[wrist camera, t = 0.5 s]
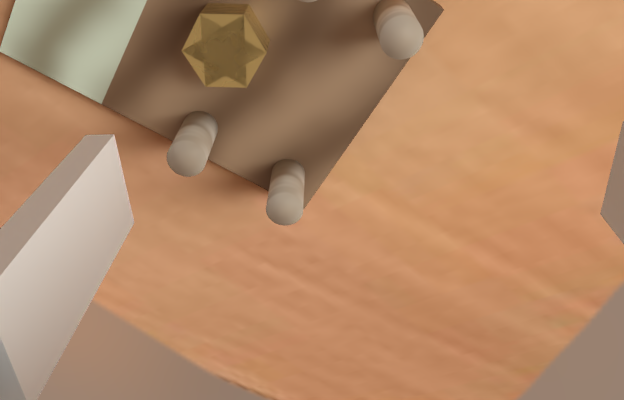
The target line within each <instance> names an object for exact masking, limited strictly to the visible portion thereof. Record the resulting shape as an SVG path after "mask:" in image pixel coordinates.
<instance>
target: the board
mask: <svg viewBox="0 0 624 400" xmlns="http://www.w3.org/2000/svg"><path fill="white" fill-rule="evenodd" d="M208 3H227V4H249V5H250V7H251V8H252V10H253V12H254V13H255V15H256V17H257V19H258V20H259V22H260V24H261V25H262V27H263V29H264V30H265V32H266V34H267V36H268V37H269V39H270V42H269V46H268V50H267V53H266V55H265V57H264V58H263V60H262V62H261V64H260V65H259V67H258V69H257V71H256V72H255V74H254V76H253V78H252V79H251V81H250V83H249V85H248V86H247V88H238V87H205V85H204V84H203V82H202V81H201V79H200V78H199V76H198V75H197V73H196V72H195V70H194V69H193V67H192V66H191V64H190V63H189V61H188V60H187V58H186V57H185V55H184V54H183V52H182V49H183V47H184V45H185V43H186V41H187V39H188V37H189V35H190V33H191V31H192V29H193V27H194V24H195V22H196V20H197V18H198V16H199V14H200V13H201V11H202V10H203V9H204V8H205V6H206V5H207V4H208ZM443 10H444V9H443V8H442V7H441V6H440V5H439V4H437V3H436V2H434V1H433V0H15V3H14V7H13V10H12V13H11V16H10V19H9V22H8V25H7V28H6V31H5V34H4V37H3V40H2V43H1V46H0V52H2V53H4V54H5V55H7V56H9V57H11V58H13V59H15V60H17V61H19V62H21V63H23V64H25V65H27V66H29V67H31V68H32V69H34V70H36V71H38V72H40V73H42V74H44V75H46V76H48V77H50V78H52V79H54V80H56V81H58V82H59V83H61V84H63V85H65V86H67V87H69V88H71V89H73V90H75V91H77V92H79V93H81V94H83V95H85V96H87V97H88V98H90V99H92V100H94V101H96V102H98V103H100V104H102V105H104V106H106V107H108V108H110V109H112V110H114V111H115V112H117V113H119V114H121V115H123V116H125V117H127V118H129V119H131V120H133V121H135V122H137V123H139V124H141V125H143V126H144V127H146V128H148V129H150V130H152V131H154V132H156V133H158V134H160V135H162V136H164V137H166V138H168V139H170V140H171V141H173V142H172V144H171V146H170V148H169V150H168V152H167V162H168V165H169V166H170V168H171V169H172V170H173V171H174V172H175V173H177V174H179V175H182V176H187V177H191V176H195V175H197V174H199V173H200V172H201V171H202V170H203V169H204V167H205V164H206V162H207V159H208V160H210V161H212V162H214V163H216V164H218V165H220V166H222V167H224V168H226V169H227V170H229V171H231V172H233V173H235V174H237V175H239V176H241V177H243V178H245V179H247V180H249V181H251V182H253V183H254V184H256V185H258V186H260V187H262V188H264V189H266V190H268V191H269V193H268V199H267V206H266V212H267V215H268V217H269V218H270V219H271V220H272V221H273V222H274V223H276V224H279V225H291V224H294V223H296V222H297V221H298V220H299V219H300V218H301V216H302V214H303V209H304V208H305V207H306V205H307V204H308V203H309V201H310V200H311V198H312V197H313V195H314V194H315V193H316V191H317V190H318V188H319V187H320V186H321V184H322V183H323V181H324V180H325V178H326V177H327V176H328V174H329V173H330V171H331V170H332V168H333V167H334V166H335V164H336V163H337V161H338V160H339V158H340V157H341V156H342V154H343V153H344V151H345V150H346V148H347V147H348V146H349V144H350V143H351V141H352V140H353V139H354V137H355V136H356V134H357V133H358V131H359V130H360V129H361V127H362V126H363V124H364V123H365V121H366V120H367V119H368V117H369V116H370V114H371V113H372V111H373V110H374V109H375V107H376V106H377V104H378V103H379V101H380V100H381V99H382V97H383V96H384V94H385V93H386V92H387V90H388V89H389V87H390V86H391V84H392V83H393V82H394V80H395V79H396V77H397V76H398V74H399V73H400V72H401V70H402V69H403V67H404V66H405V64H406V63H407V62H408V60H409V59H410V57H412V56H413V55H415V54H416V53H417V52H418V51H419V49H420V48H421V46H422V43H423V39H424V37H425V36H426V35H427V33H428V32H429V30H430V29H431V27H432V26H433V25H434V23H435V22H436V20H437V19H438V17H439V16H440V15H441V13H442V12H443Z"/></svg>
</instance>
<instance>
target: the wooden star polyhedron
mask: <svg viewBox="0 0 624 400" xmlns="http://www.w3.org/2000/svg"><path fill="white" fill-rule="evenodd" d="M269 42H270V39H269V37H268V36H267V34H266V32H265V30H264V29H263V27H262V25H261V24H260V22H259V20H258V19H257V17H256V15H255V13H254V12H253V10H252V8H251V7H250V5H249V4H227V3H208V4H207V5H206V6H205V8H204V9H203V10H202V11H201V13H200V14H199V16H198V18H197V20H196V22H195V24H194V27H193V29H192V31H191V33H190V35H189V37H188V39H187V41H186V43H185V45H184V47H183V49H182V52H183V54H184V55H185V57H186V58H187V60H188V61H189V63H190V64H191V66H192V67H193V69H194V70H195V72H196V73H197V75H198V76H199V78H200V79H201V81H202V82H203V84H204V85H205V87H238V88H247V86H248V85H249V83H250V81H251V79H252V78H253V76H254V74H255V72H256V71H257V69H258V67H259V65H260V64H261V62H262V60H263V58H264V57H265V55H266V53H267V50H268V46H269Z"/></svg>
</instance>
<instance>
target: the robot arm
mask: <svg viewBox="0 0 624 400" xmlns="http://www.w3.org/2000/svg"><path fill="white" fill-rule="evenodd" d="M600 214H601V215H602V217H603V218H604V219H605V221H606V222H607V223H608V224H609V226H610V227H611V228H612V230H613V231H614V232H615V234H616V235H617V236H618V237H619V239H620V240H621V241H622V243H623V244H624V121H623V123H622V127H621V132H620V136H619V140H618V144H617V148H616V152H615V156H614V160H613V164H612V168H611V172H610V176H609V181H608V185H607V189H606V193H605V197H604V201H603V205H602V209H601V213H600ZM133 224H134V219H133V215H132V210H131V206H130V201H129V197H128V193H127V188H126V184H125V179H124V175H123V171H122V166H121V162H120V157H119V153H118V149H117V144H116V140H115V136H114V134H104V135H85V136H84V137H83V139H82V140H81V141H80V142H79V143H78V144H77V145H76V146H75V147H74V148H73V150H72V151H71V152H70V153H69V154H68V155H67V156H66V157H65V158H64V159H63V161H62V162H61V163H60V164H59V165H58V166H57V167H56V168H55V169H54V170H53V172H52V173H51V174H50V175H49V176H48V177H47V178H46V179H45V180H44V181H43V183H42V184H41V185H40V186H39V187H38V188H37V189H36V190H35V191H34V192H33V194H32V195H31V196H30V197H29V198H28V199H27V200H26V201H25V202H24V203H23V205H22V206H21V207H20V208H19V209H18V210H17V211H16V212H15V213H14V214H13V216H12V217H11V218H10V219H9V220H8V221H7V222H6V223H5V224H4V225H3V227H2V228H0V400H37V399H38V397H39V395H40V393H41V392H42V390H43V388H44V386H45V384H46V383H47V381H48V379H49V377H50V375H51V373H52V372H53V370H54V368H55V366H56V364H57V363H58V361H59V359H60V357H61V355H62V353H63V352H64V350H65V348H66V346H67V344H68V342H69V341H70V339H71V337H72V335H73V333H74V331H75V329H76V328H77V326H78V324H79V322H80V321H81V319H82V317H83V315H84V313H85V312H86V310H87V308H88V306H89V304H90V302H91V301H92V299H93V297H94V295H95V293H96V292H97V290H98V288H99V286H100V284H101V282H102V281H103V279H104V277H105V275H106V273H107V272H108V270H109V268H110V266H111V264H112V262H113V261H114V259H115V257H116V255H117V253H118V252H119V250H120V248H121V246H122V244H123V242H124V241H125V239H126V237H127V235H128V233H129V232H130V230H131V228H132V226H133Z"/></svg>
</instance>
